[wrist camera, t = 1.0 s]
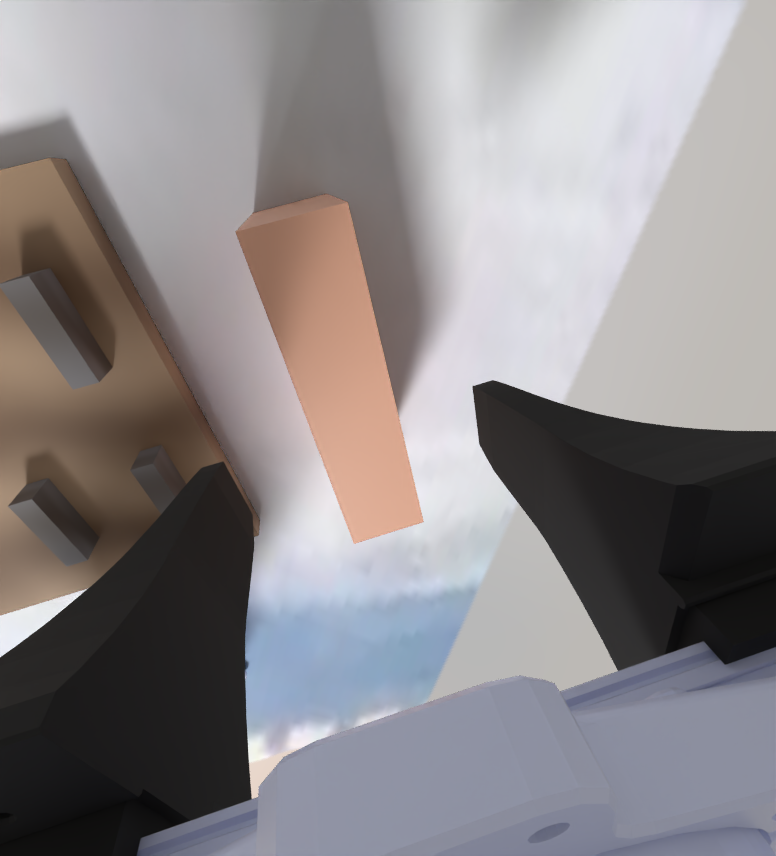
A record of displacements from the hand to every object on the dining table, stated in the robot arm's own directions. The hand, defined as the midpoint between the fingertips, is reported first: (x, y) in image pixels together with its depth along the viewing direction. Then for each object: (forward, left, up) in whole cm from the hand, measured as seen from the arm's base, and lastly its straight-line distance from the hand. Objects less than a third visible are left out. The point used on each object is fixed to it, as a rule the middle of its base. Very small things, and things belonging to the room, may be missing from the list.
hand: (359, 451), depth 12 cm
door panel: (0, 0, -10) cm, 10 cm away
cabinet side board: (0, +15, -9) cm, 18 cm away
